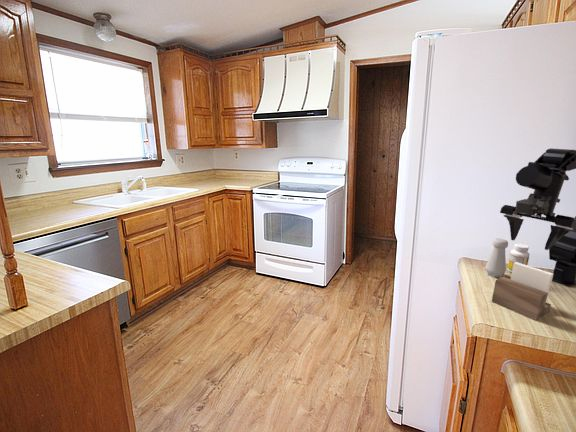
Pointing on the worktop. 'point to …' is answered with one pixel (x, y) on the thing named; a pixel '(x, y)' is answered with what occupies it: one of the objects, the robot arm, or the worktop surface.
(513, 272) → the button plate
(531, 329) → the worktop surface
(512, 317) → the worktop surface
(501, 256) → the salt shaker
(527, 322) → the worktop surface
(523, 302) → the brown wooden stand
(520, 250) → the supplement bottle
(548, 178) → the robot arm
